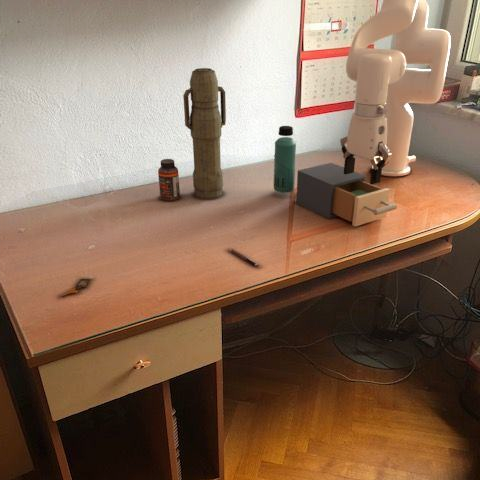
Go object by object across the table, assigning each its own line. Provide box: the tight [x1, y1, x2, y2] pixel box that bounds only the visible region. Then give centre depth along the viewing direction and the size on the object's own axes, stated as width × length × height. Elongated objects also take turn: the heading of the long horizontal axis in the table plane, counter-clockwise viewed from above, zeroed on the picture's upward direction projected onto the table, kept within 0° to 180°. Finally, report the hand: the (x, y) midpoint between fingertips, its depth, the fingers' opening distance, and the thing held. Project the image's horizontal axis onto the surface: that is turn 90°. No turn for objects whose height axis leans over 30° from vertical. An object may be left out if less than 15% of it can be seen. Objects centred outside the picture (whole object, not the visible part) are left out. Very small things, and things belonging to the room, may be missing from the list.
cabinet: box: [295, 162, 367, 219], centre depth 152 cm, size 15×13×10 cm
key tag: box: [61, 278, 91, 297], centre depth 116 cm, size 8×3×1 cm, turn 162°
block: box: [350, 190, 367, 196], centre depth 145 cm, size 5×5×5 cm
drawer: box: [332, 180, 398, 227], centre depth 144 cm, size 18×11×8 cm, turn 33°
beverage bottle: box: [273, 125, 297, 194], centre depth 158 cm, size 6×7×20 cm
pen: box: [229, 248, 259, 267], centre depth 127 cm, size 11×1×1 cm, turn 37°
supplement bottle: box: [157, 158, 181, 202], centre depth 158 cm, size 6×6×11 cm
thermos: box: [182, 67, 227, 200], centre depth 154 cm, size 9×12×35 cm
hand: (361, 178), depth 141 cm, fingers open, 9 cm apart
